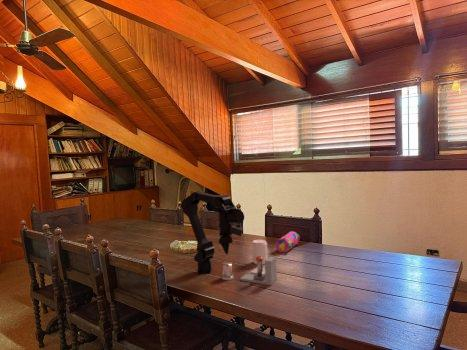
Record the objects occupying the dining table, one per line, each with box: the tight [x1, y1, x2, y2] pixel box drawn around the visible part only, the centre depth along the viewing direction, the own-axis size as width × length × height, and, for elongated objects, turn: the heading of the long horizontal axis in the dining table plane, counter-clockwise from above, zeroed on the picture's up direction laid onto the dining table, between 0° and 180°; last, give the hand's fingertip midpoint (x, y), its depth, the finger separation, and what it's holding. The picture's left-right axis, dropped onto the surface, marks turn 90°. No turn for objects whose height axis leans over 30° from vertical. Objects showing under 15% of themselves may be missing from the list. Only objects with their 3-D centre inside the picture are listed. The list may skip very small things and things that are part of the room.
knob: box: [221, 261, 235, 281], centre depth 161 cm, size 6×6×7 cm
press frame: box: [240, 256, 278, 286], centre depth 160 cm, size 16×17×11 cm
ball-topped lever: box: [254, 256, 266, 280], centre depth 155 cm, size 5×4×10 cm
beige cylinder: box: [251, 239, 269, 265], centre depth 181 cm, size 8×8×12 cm
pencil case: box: [275, 231, 301, 254], centre depth 206 cm, size 22×9×9 cm, turn 152°
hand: (226, 253), depth 160 cm, fingers closed
